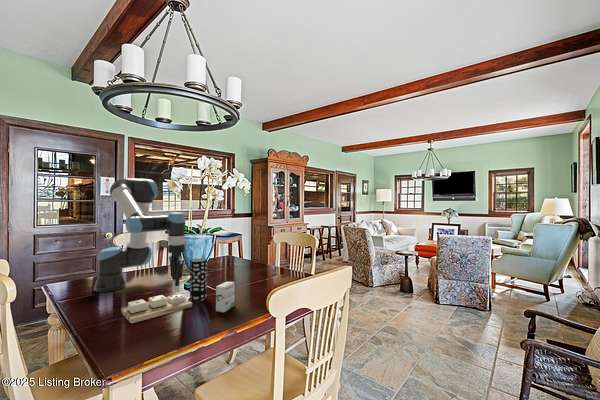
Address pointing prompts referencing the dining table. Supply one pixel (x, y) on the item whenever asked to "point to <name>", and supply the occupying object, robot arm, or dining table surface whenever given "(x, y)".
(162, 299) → the two pip tile
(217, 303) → the ink box
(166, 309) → the button board
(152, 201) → the robot arm
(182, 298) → the three pip tile
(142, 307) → the one pip tile
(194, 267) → the spotted tube
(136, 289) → the dining table surface
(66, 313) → the dining table surface
